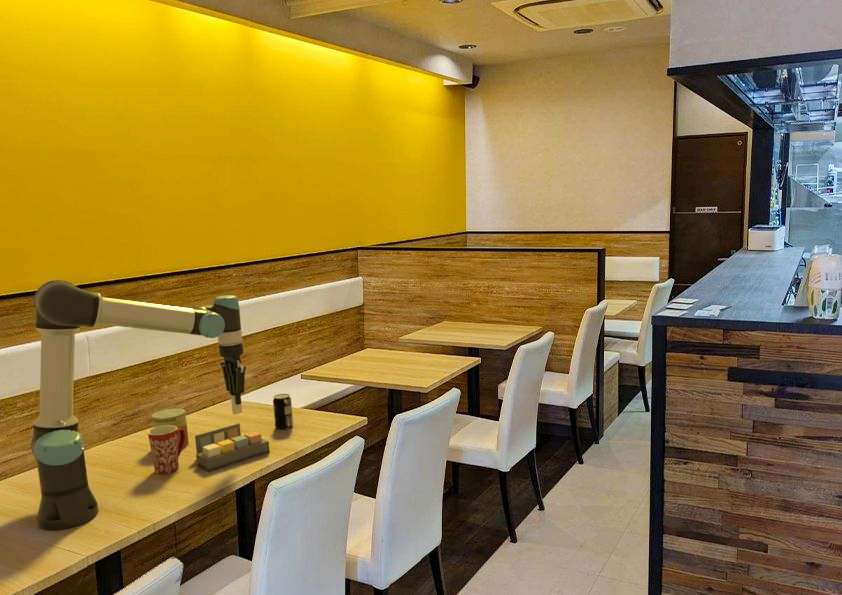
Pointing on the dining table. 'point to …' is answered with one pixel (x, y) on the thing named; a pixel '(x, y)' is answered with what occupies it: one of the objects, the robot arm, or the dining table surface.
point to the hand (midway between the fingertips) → (237, 413)
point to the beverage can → (282, 411)
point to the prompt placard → (216, 436)
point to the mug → (165, 447)
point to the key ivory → (211, 450)
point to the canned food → (172, 421)
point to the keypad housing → (232, 456)
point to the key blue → (240, 441)
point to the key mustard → (226, 446)
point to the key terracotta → (253, 437)
